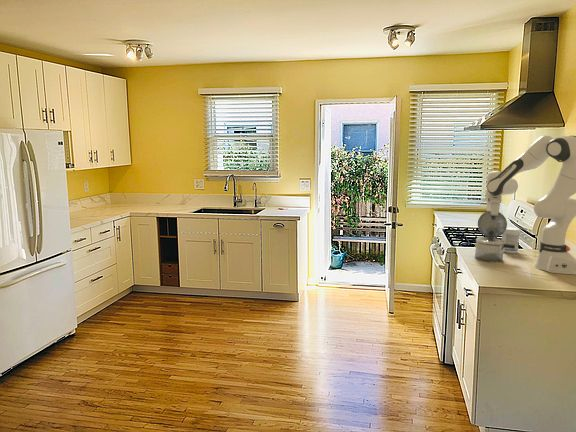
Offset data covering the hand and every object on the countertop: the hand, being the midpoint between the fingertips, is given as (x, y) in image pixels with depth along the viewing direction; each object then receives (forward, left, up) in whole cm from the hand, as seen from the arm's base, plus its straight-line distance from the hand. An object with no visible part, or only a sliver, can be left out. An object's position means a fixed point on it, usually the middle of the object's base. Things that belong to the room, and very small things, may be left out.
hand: (491, 220), depth 282 cm
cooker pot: (-3, +16, -20) cm, 26 cm away
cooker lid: (-1, +6, -1) cm, 7 cm away
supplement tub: (-12, -9, -20) cm, 25 cm away
